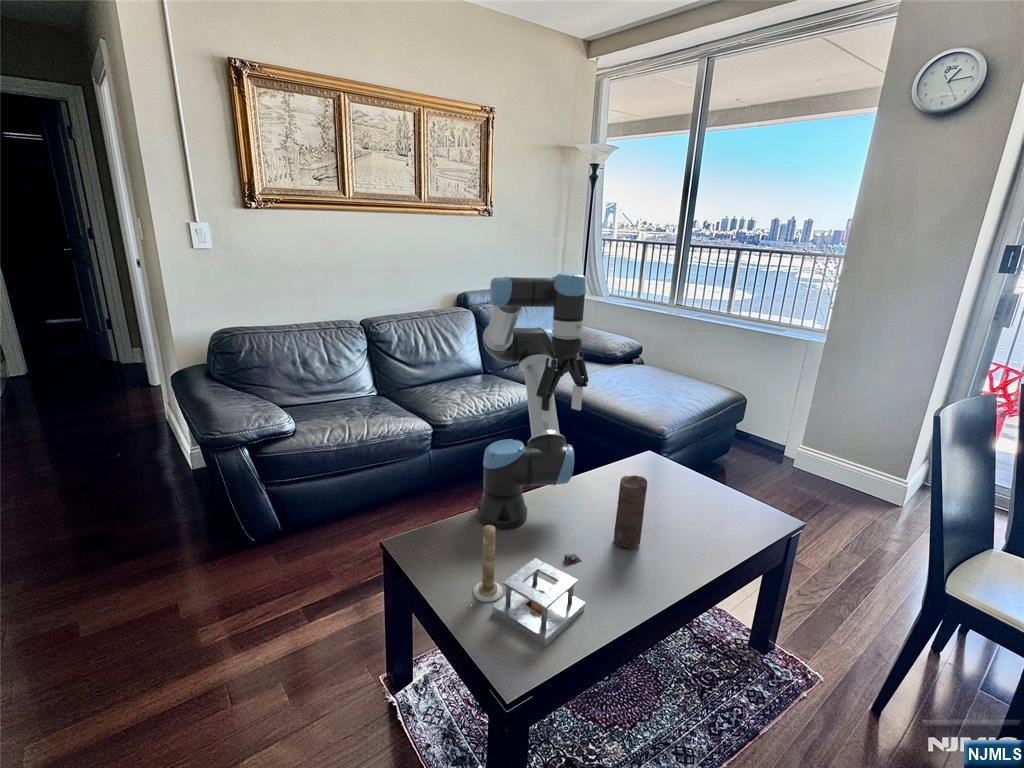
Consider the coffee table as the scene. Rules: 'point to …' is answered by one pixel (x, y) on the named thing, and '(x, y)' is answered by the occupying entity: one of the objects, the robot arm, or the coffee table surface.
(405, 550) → the coffee table surface
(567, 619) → the grey square frame
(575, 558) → the multicolour small angular block
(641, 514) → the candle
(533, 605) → the breaker button
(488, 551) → the turned wooden spindle
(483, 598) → the coaster
